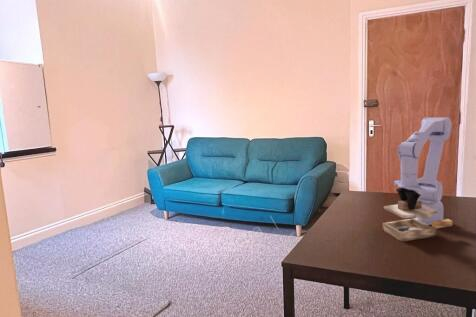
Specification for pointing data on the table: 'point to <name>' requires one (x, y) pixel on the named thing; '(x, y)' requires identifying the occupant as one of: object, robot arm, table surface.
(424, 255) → the table surface
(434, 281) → the table surface
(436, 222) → the light wooden bar
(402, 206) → the lid
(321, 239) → the table surface
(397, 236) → the wooden tray
